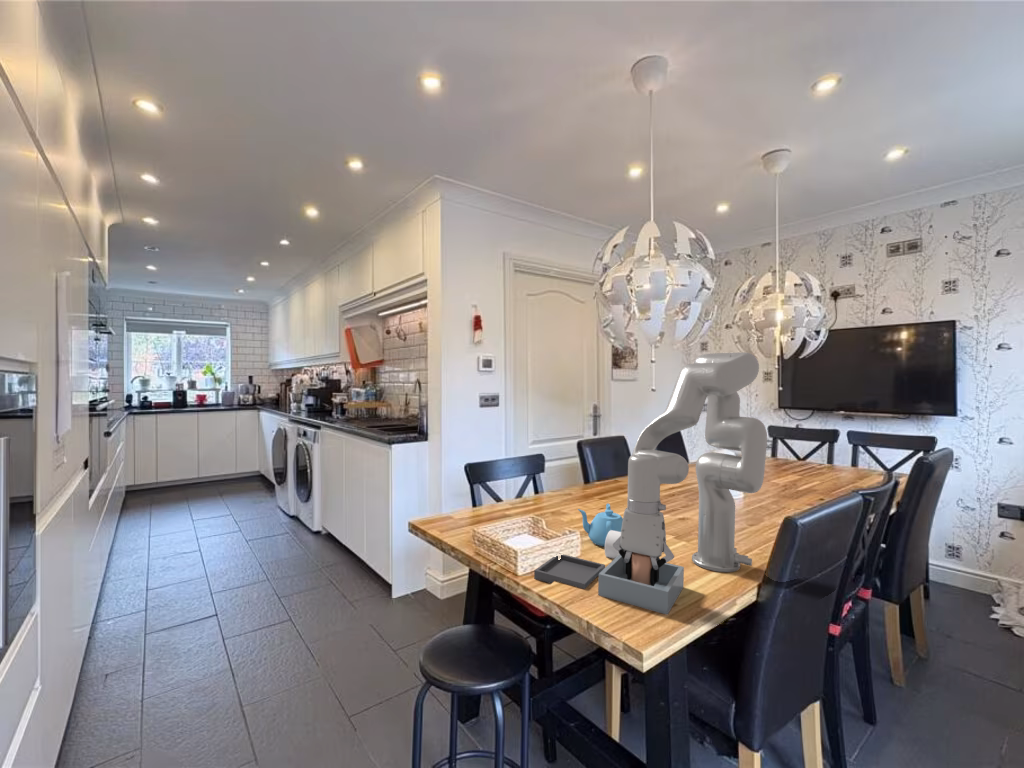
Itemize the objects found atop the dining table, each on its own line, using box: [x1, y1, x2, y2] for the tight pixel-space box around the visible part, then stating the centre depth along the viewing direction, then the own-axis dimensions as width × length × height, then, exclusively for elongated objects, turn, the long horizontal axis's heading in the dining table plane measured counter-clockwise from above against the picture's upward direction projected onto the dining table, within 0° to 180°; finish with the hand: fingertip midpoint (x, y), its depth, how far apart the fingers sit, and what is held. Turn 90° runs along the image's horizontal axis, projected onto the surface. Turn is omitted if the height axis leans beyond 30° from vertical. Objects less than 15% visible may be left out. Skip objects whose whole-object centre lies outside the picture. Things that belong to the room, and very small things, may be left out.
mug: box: [604, 530, 621, 560], centre depth 132 cm, size 12×10×8 cm
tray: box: [533, 554, 606, 590], centre depth 120 cm, size 14×14×2 cm
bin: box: [597, 554, 685, 615], centre depth 110 cm, size 16×16×6 cm
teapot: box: [577, 503, 623, 548], centre depth 146 cm, size 15×15×10 cm
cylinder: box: [631, 552, 653, 585], centre depth 110 cm, size 5×5×9 cm
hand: (641, 580), depth 110 cm, fingers closed on cylinder, 5 cm apart
